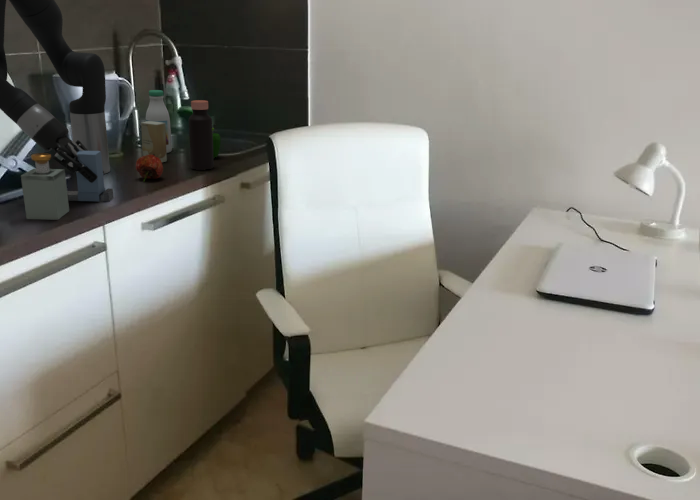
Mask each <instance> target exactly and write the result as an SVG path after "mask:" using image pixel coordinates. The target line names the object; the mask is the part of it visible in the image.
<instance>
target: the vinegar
mask: <svg viewBox="0 0 700 500" xmlns="http://www.w3.org/2000/svg"><path fill="white" fill-rule="evenodd" d="M190 107H191V108H190V109H191V111H192V114H191V115H190V116H189V118H188V134H189V135H188V136H189V152H190V153H189V155H190V156H189V158H190V168H191V169H192V170H193V169H196V170H195V171H200V170H204V169H211V168H213V167H214V166H215V162H214V159H215V158H213V133H214V132H213V131H214V130H213V131H212V128H213V118H212V117H211V116H210V114H208V111H209V101H208V100H204V99H203V100H202V99H200V100H199V99H197V100H191V101H190ZM213 169H214V168H213ZM211 170H212V169H211ZM204 171H205V170H204Z"/></svg>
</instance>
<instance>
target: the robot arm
mask: <svg viewBox="0 0 700 500" xmlns="http://www.w3.org/2000/svg"><path fill="white" fill-rule="evenodd" d="M8 1H9V3H10V4H11V6H12V7H13V9H14V10H15V11H16V13H17V14H18V15H19V17H20V19H21V20H22V21H23V23H24V24H25V25H26V26H27V27H28V29H29V31H31V33H32V34H33V36H34V37H35V39H36V40H37V42H38V43H39V44H40V46H41V48H42V49H43V50H44V52H45V54H46V55H47V56H48V59H49V60H50V62H51V64H52V65H53V67H54V70H55V71H56V72H57V74H58V76H59V78H60V80H61V81H63V82H64V84H66V85H68V86H69V87H76V88H77V87H78V88H82V93H81V96H80V97H78V98H76V99H73V100H71V101H70V102H69V103H68V106H69V116H70V117H69V118H70V125H71V134H72V135H71V136H72V139H70V137H69V138H68V137H67V135H69V129H68V128H67V127H66V126H65V125H64V124H63V123H62V122H61V121H60V120H58V119H57V117H55V116H54V115H53V114H52V113H51V112H50V111H49V110H48V109H46V108H45V107H43V106H42V105H41V104H39V103H38V102H37V101H36V100H35V99H34V98H33V97H31V95H30V94H28V93H27V92H26V91H25V90H23V89H21V88H20V87H19V88H18V87H16V86H14V85H12V84H11V83H10V82H9V81H8V75H9V74H8V63H7V57H6V52H5V46H4V45H5V26H6V25H5V24H6V23H5V22H6V21H5V20H6V19H5V18H6V17H5V16H6V5H7V0H0V110H1V111H2V112H3V113H4V114H5V115H6V116H7V117H8V118H9V119H10V120H11V121H12V122H13V123H15V124H16V125H17V126H18V127H19V128H20V130H21V131H22V132H23V133H24V134H25V135H27V136H28V138H30V139H31V140H32V141H33V142H35V144H36V145H38V146H39V147H40V148H41V149H43V151H45V153H48V152H50V151H51V152H52V151H53V152H54V153H55V154H53V156H52V159H54V160H55V161H56V162H57V163H59V164H60V165H62V167H64V168H65V169H67V170H69V171H70V172H71V173H74V174H75V173H76V172H77V173H79V172H80V174H82V175H83V176H84V177H85V178H86V179H87V180H88V181H89V182H91V183H93V182H94V181H95V180H96V179H97V178H98V176H97V175H96V174H95V173H94V172H92V171H91V170H90V169H89V168H88V167H87V166H86V167H85V164H84V163H83V162H82V161H81V160H80V157H79V156H78V155H77V154H78V153H77V152H79V151H101V157H102V167H103V175H105V174H107V173H110V171H111V166H110V155H109V153H110V152H109V146H108V145H109V144H108V134H107V132H108V131H107V123H106V121H107V120H106V112H105V111H106V110H105V109H106V108H105V106H106V105H105V104H106V100H107V95H106V93H107V92H106V89H107V88H106V69H105V65H104V62H103V59H102V58H101V57H100V56H99V55H98V54H95V53H92V52H91V53H90V52H75V51H74V50H73V49H71V47H70V45H68V43H67V42H66V40H65V38H64V35H63V26H64V25H63V22H64V21H63V20H64V19H63V13H62V10H61V8H60V6H59V5H58V3H57V2H56V0H8Z"/></svg>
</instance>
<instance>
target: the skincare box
mask: <svg viewBox="0 0 700 500" xmlns="http://www.w3.org/2000/svg"><path fill="white" fill-rule="evenodd" d="M140 128H141V146H142V147H141V148H142V149H141V150H142V156H145V155H149V154H150V155H153V154H155V157H158V158H159V159H160V160H161V162H162V163H164V162H168V161H167V160H168V157H167V156H168V155H167V154H168V153H166V125H165V123H162V122H155V121H146V120H145V121H141V122H140Z"/></svg>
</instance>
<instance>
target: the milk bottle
mask: <svg viewBox="0 0 700 500" xmlns="http://www.w3.org/2000/svg"><path fill="white" fill-rule="evenodd" d="M148 96H149V103H148V107H147V109H146V111H145V112H146V113H145V122H146V121H155V122H162V123H165V125H166V154H168V153H171V152H172V150H173V149H172V147H173V146H172V131H171V130H172V129H171V128H172V127H171V119H170V113H169V110H168V109H167V107H166V104H165V101H164V98H165V95H164V91H163V90H160V89H150V90H148Z"/></svg>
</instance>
